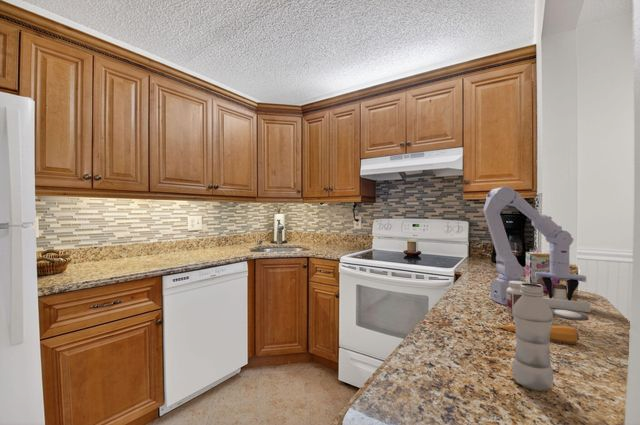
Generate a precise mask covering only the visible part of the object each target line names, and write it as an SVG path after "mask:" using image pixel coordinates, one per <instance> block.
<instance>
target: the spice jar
mask: <svg viewBox="0 0 640 425" xmlns="http://www.w3.org/2000/svg"><path fill="white" fill-rule="evenodd" d="M567 293H568V286H567V284H561V283H560V284H553V292H552V299H559V300H568V298H567Z"/></svg>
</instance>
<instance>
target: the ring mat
mask: <svg viewBox="0 0 640 425" xmlns="http://www.w3.org/2000/svg"><path fill="white" fill-rule="evenodd" d="M550 309H551V311H552V314H553V317H554V316H555V317H558V318H562V319H566V320H573V321H586V320H588V319H589V316H588V315H586V314H585V313H583V312H580V311H575V310H567V309H559V308H550Z"/></svg>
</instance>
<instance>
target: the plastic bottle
mask: <svg viewBox="0 0 640 425" xmlns="http://www.w3.org/2000/svg"><path fill="white" fill-rule="evenodd" d="M520 289H521V290H520V293H521V294H522V296H521V297H520V298H519V299H518V300H517V302H516V303H515V304H514V307H513V316H512V317H513V321H514V326H515V330H516V332H515V342H516V343H515V353H514V359H513V362H512V372H513V377H514V379H515V380H516V381H517V383H518V384H519V385H521V386H522V387H525V388H527V389H529V390H532V391H533V390H534V391H539V392H544V391H548V390H549V389H550V388H551V387H552V386H553V383H554V372H553V367H552V365H551V362H552V361H551V355H550V331H551V326H553V325H552V324H553V318H554V315H553V314H552V311H551V309H552V308H551V307H549V306H548V305H547V303H546V302H545V301H544V300H543V299H542V298H544V297H545V293H544V292H543V286H542V285H538V284H532V283H526V282H525V283H522V284H521V285H520Z"/></svg>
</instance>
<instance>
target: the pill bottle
mask: <svg viewBox="0 0 640 425" xmlns="http://www.w3.org/2000/svg"><path fill="white" fill-rule="evenodd" d="M522 283H526V281H522V280H521V281H509V286H510V287H509V288H507V305H506V313H507V315H509V316H511V317H514V316H513V307H514V304H515V303H516V302H517V300H518V299H519V298H520V297H521V296H522V294H521V293H520V290H521V289H520V285H521V284H522Z"/></svg>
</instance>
